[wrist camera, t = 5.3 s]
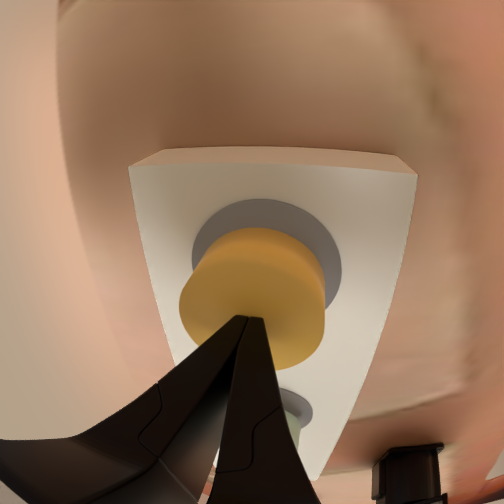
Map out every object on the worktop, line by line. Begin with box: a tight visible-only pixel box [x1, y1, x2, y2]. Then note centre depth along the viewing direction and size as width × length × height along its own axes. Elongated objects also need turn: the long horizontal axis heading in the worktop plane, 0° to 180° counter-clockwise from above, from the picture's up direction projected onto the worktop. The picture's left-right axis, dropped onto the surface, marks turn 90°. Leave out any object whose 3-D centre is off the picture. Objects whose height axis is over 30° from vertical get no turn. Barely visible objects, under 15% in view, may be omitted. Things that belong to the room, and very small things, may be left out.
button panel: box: [128, 146, 418, 481], centre depth 17 cm, size 10×28×3 cm, turn 2°
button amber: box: [179, 228, 325, 371], centre depth 10 cm, size 4×4×2 cm
